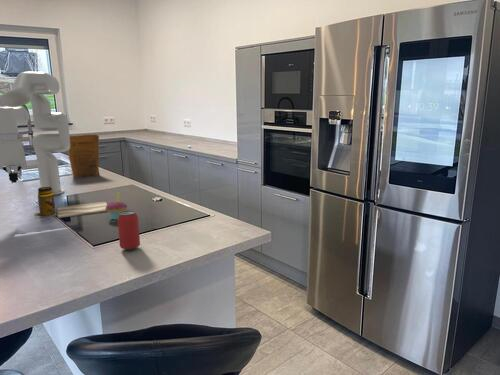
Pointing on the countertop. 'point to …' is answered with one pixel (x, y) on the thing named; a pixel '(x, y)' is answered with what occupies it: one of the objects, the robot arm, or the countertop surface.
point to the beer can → (128, 229)
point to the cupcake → (116, 208)
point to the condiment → (46, 203)
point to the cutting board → (81, 209)
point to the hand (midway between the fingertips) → (14, 182)
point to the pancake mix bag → (84, 155)
